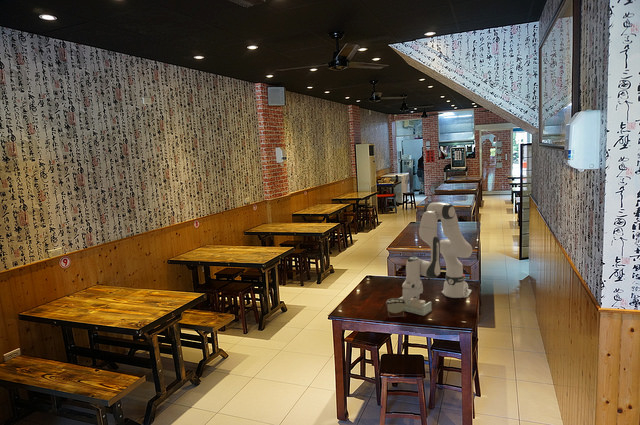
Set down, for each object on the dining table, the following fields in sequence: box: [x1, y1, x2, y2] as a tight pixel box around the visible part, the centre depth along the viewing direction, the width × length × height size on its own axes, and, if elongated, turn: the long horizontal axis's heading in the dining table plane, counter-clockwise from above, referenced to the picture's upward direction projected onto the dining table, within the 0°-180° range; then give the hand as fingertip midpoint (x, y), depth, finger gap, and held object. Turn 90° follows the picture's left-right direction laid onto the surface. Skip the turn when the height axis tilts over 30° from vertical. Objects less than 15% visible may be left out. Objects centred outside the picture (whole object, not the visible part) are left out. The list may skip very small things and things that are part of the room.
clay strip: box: [402, 297, 426, 310], centre depth 276 cm, size 4×15×6 cm, turn 49°
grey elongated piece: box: [398, 295, 432, 316], centre depth 276 cm, size 10×20×6 cm, turn 49°
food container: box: [385, 297, 406, 318], centre depth 269 cm, size 12×6×10 cm, turn 92°
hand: (413, 303), depth 276 cm, fingers open, 8 cm apart
